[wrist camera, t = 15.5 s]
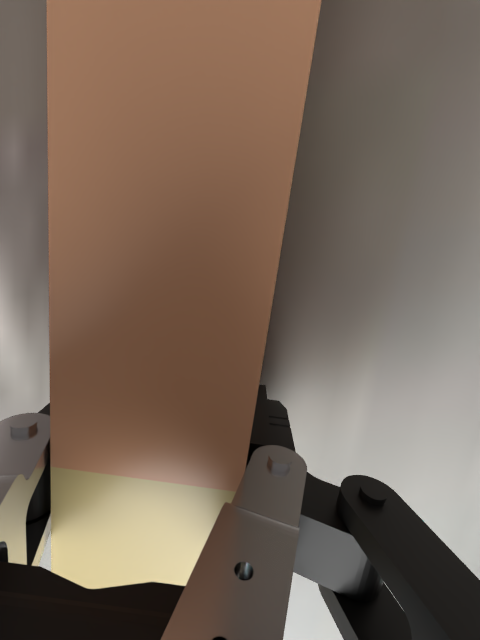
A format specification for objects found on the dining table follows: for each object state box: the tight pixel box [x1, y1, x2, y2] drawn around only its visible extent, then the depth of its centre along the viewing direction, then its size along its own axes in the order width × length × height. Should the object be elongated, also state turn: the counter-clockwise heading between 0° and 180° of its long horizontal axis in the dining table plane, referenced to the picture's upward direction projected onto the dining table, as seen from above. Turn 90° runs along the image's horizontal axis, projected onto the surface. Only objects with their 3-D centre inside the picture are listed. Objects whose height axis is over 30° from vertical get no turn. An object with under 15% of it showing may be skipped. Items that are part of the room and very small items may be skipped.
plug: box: [47, 0, 322, 589], centre depth 8 cm, size 4×20×5 cm, turn 172°
